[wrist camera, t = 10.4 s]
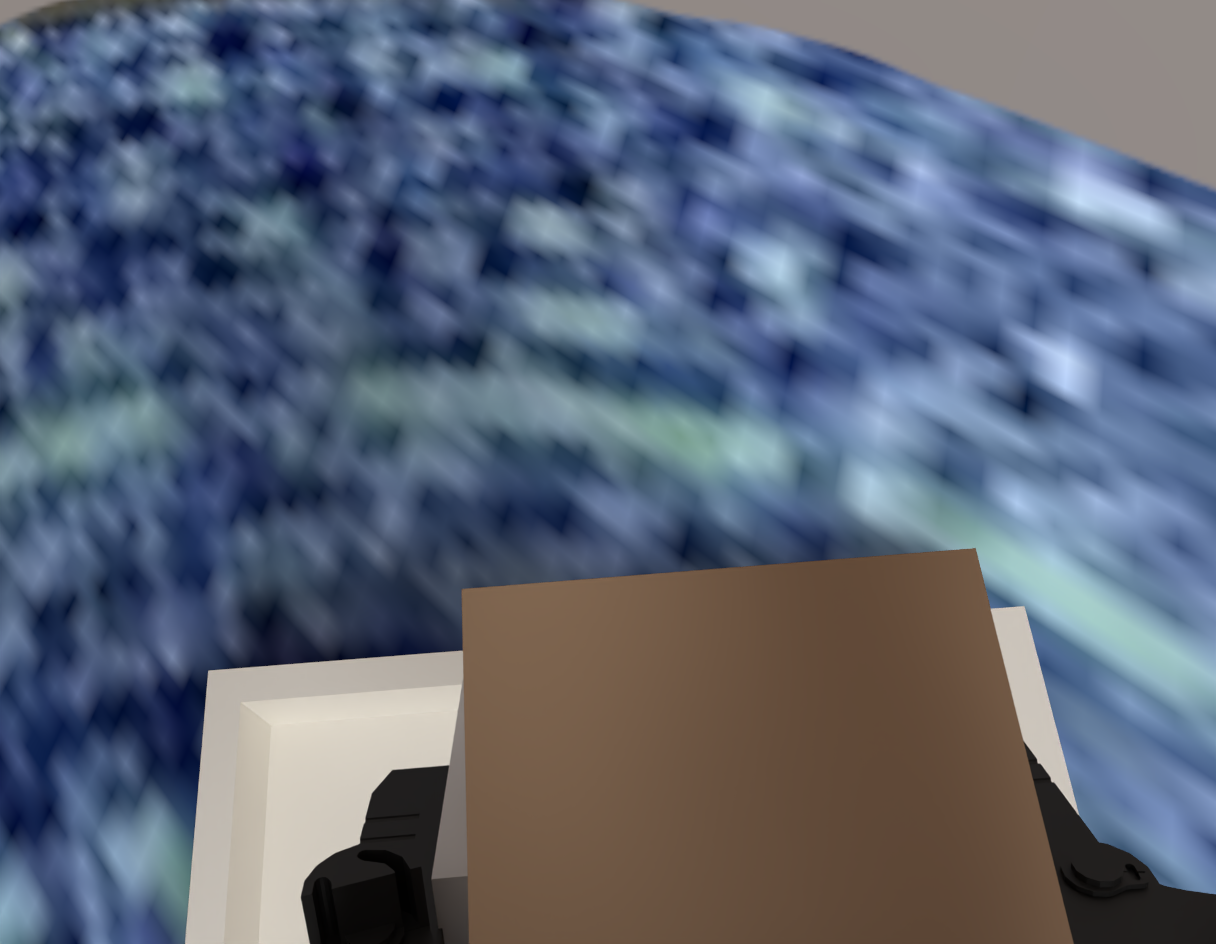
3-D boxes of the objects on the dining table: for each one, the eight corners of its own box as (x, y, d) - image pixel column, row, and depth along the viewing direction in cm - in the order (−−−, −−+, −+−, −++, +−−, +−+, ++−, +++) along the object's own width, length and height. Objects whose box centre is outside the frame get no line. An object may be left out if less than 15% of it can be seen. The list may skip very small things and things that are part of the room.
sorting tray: (209, 1317, 28) (149, 1367, 24) (250, 704, 35) (208, 670, 31) (1122, 1229, 28) (1196, 1264, 25) (982, 645, 35) (1024, 606, 32)
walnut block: (558, 1086, 19) (474, 1212, 8) (543, 795, 21) (461, 588, 10) (839, 1061, 19) (1124, 1151, 8) (795, 774, 21) (975, 548, 10)
